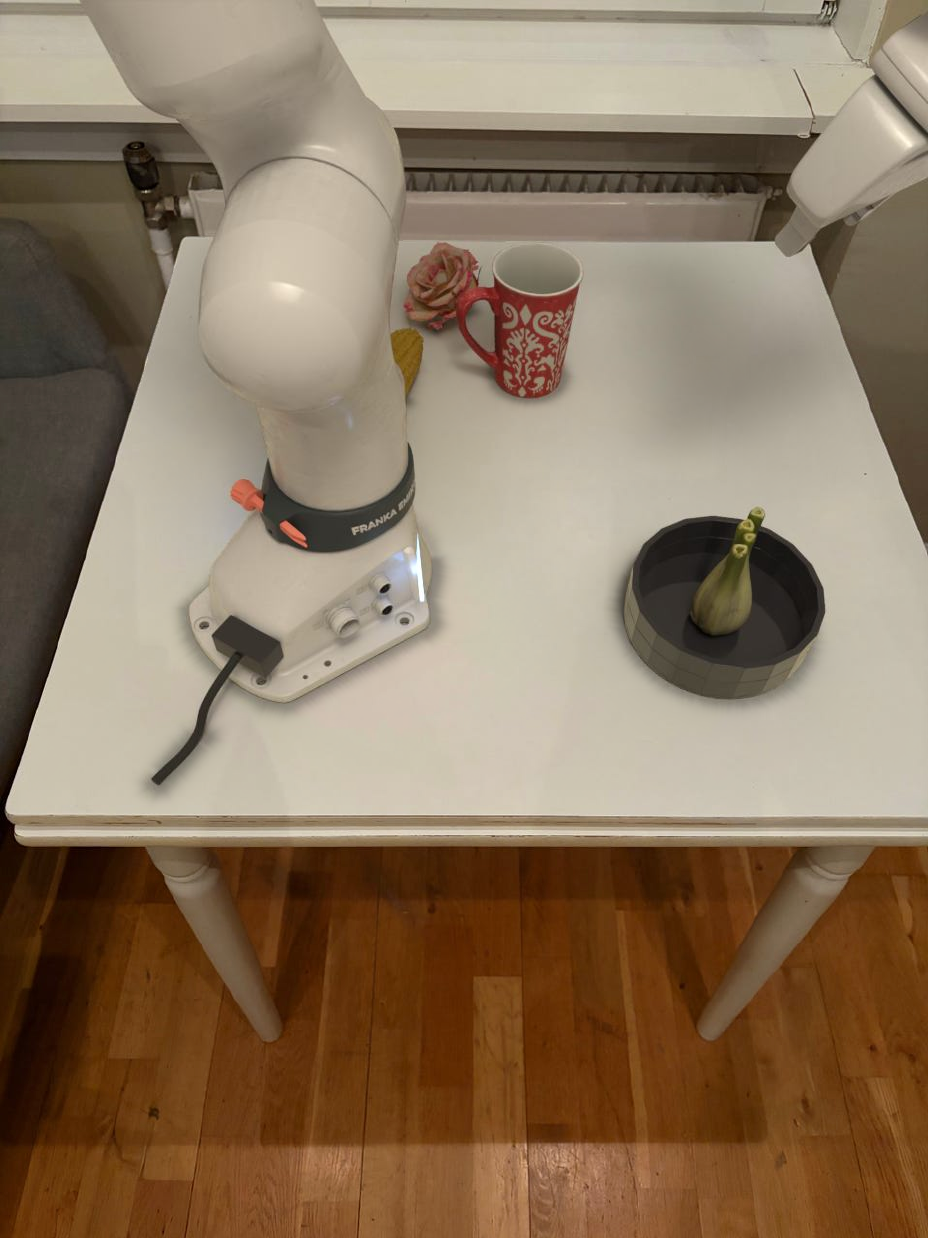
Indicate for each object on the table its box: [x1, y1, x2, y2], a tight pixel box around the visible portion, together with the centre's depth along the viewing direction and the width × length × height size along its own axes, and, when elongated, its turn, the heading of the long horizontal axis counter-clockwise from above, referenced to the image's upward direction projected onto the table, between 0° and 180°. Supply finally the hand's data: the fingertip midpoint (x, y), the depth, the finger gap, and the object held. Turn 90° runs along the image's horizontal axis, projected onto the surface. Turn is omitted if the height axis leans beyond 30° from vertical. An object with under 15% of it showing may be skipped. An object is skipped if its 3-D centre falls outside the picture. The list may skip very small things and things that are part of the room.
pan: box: [623, 515, 827, 700], centre depth 83 cm, size 16×16×5 cm
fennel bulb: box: [690, 506, 766, 636], centre depth 79 cm, size 6×5×12 cm
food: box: [390, 327, 425, 398], centre depth 97 cm, size 21×6×6 cm, turn 165°
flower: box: [402, 241, 482, 330], centre depth 107 cm, size 10×9×8 cm
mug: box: [455, 241, 584, 399], centre depth 98 cm, size 13×9×14 cm
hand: (817, 232), depth 68 cm, fingers open, 8 cm apart
